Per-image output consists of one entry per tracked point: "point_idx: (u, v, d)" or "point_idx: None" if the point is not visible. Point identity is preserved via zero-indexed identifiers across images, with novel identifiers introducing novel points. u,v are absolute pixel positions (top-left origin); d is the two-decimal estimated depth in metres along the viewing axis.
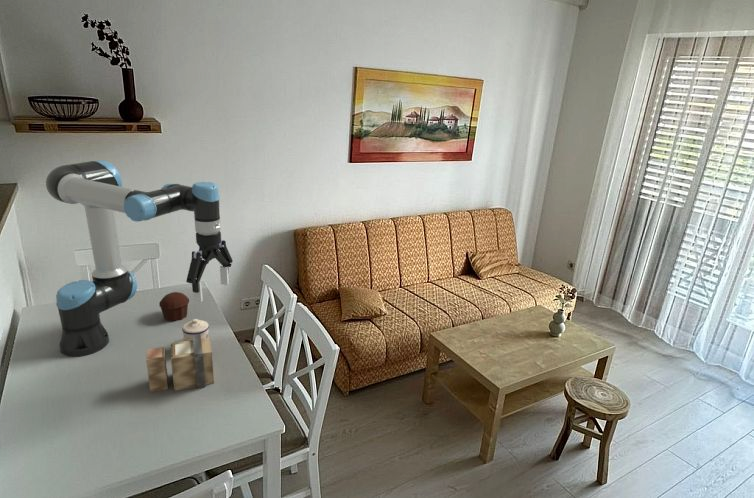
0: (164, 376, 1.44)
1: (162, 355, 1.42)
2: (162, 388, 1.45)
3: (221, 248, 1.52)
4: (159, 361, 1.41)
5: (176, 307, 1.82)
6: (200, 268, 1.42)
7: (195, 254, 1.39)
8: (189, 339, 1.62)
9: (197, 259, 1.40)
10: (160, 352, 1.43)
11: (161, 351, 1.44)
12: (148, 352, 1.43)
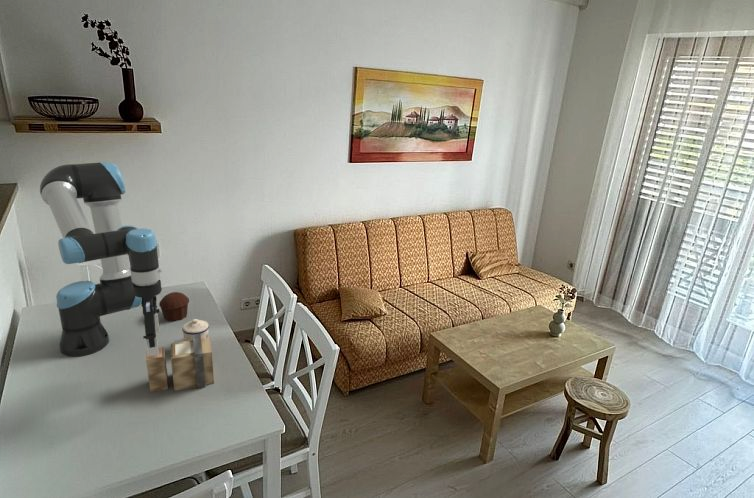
0: (164, 376, 1.44)
1: (162, 355, 1.42)
2: (162, 388, 1.45)
3: None
4: (159, 361, 1.41)
5: (176, 307, 1.82)
6: None
7: (148, 307, 1.30)
8: (189, 339, 1.62)
9: (151, 311, 1.31)
10: (160, 352, 1.43)
11: (161, 351, 1.44)
12: None
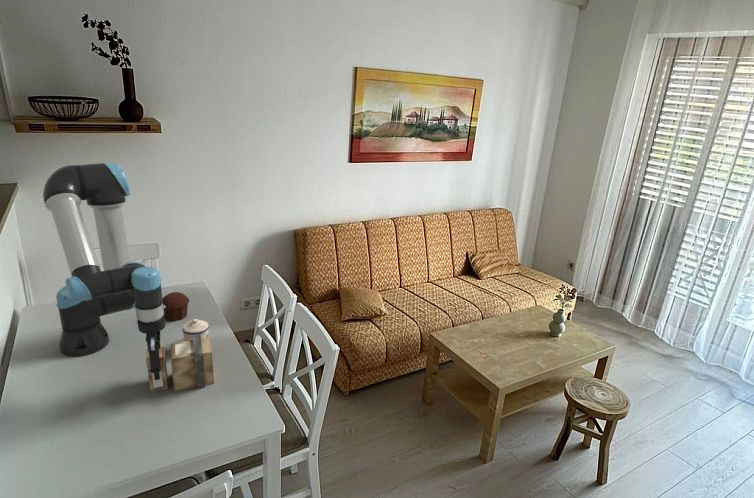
0: (164, 376, 1.44)
1: (162, 355, 1.42)
2: (162, 388, 1.45)
3: None
4: None
5: (176, 307, 1.82)
6: None
7: (153, 347, 1.35)
8: (189, 339, 1.62)
9: (156, 350, 1.36)
10: (160, 352, 1.43)
11: (161, 351, 1.44)
12: (148, 352, 1.43)
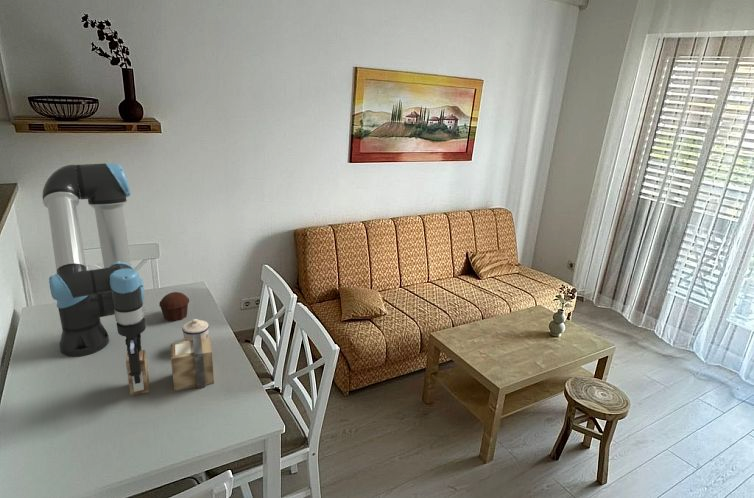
0: (145, 379, 1.41)
1: (142, 358, 1.40)
2: (143, 392, 1.43)
3: None
4: None
5: (176, 307, 1.82)
6: None
7: (132, 350, 1.33)
8: (189, 339, 1.62)
9: (136, 353, 1.34)
10: (141, 355, 1.41)
11: (142, 354, 1.42)
12: None
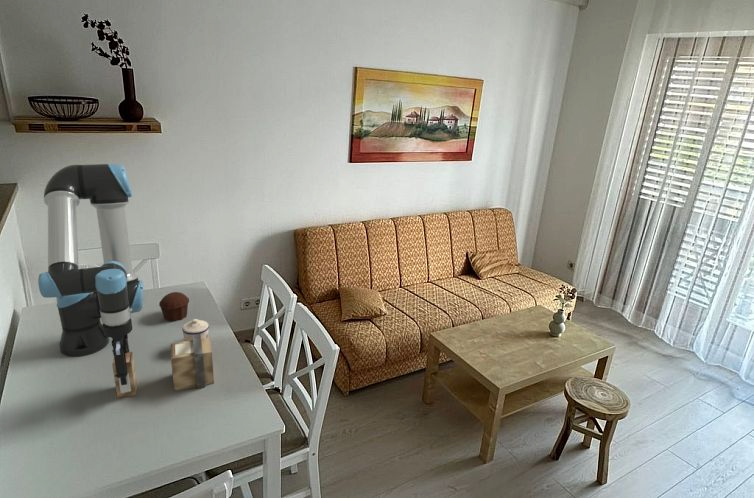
0: (132, 382, 1.40)
1: (129, 360, 1.39)
2: (130, 394, 1.41)
3: None
4: None
5: (176, 307, 1.82)
6: None
7: (118, 352, 1.31)
8: (189, 339, 1.62)
9: (122, 355, 1.33)
10: (127, 357, 1.40)
11: (129, 356, 1.40)
12: None
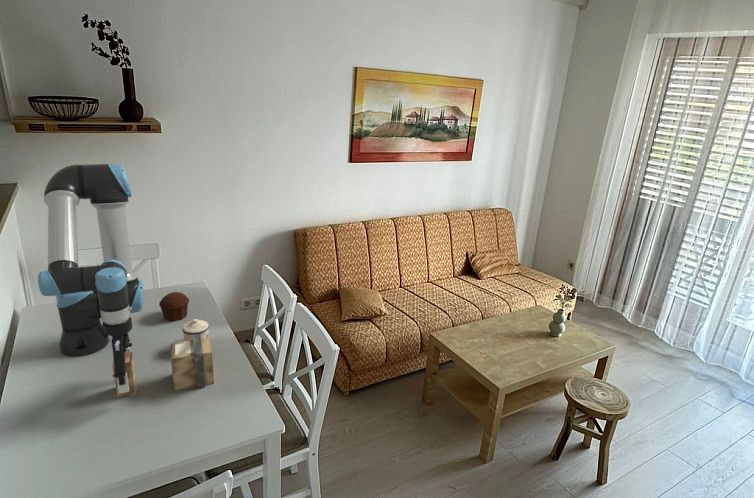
0: (132, 382, 1.40)
1: (129, 360, 1.39)
2: (130, 394, 1.41)
3: None
4: (126, 366, 1.38)
5: (176, 307, 1.82)
6: None
7: (117, 346, 1.31)
8: (189, 339, 1.62)
9: (121, 350, 1.32)
10: (127, 357, 1.40)
11: (129, 356, 1.40)
12: None
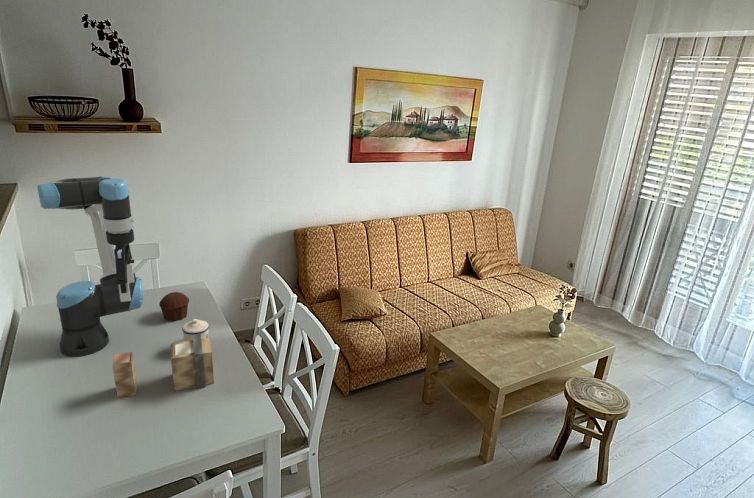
0: (132, 382, 1.40)
1: (129, 360, 1.39)
2: (130, 394, 1.41)
3: None
4: (126, 366, 1.38)
5: (176, 307, 1.82)
6: None
7: (119, 253, 1.36)
8: (189, 339, 1.62)
9: (123, 258, 1.37)
10: (127, 357, 1.40)
11: (129, 356, 1.40)
12: (115, 357, 1.39)
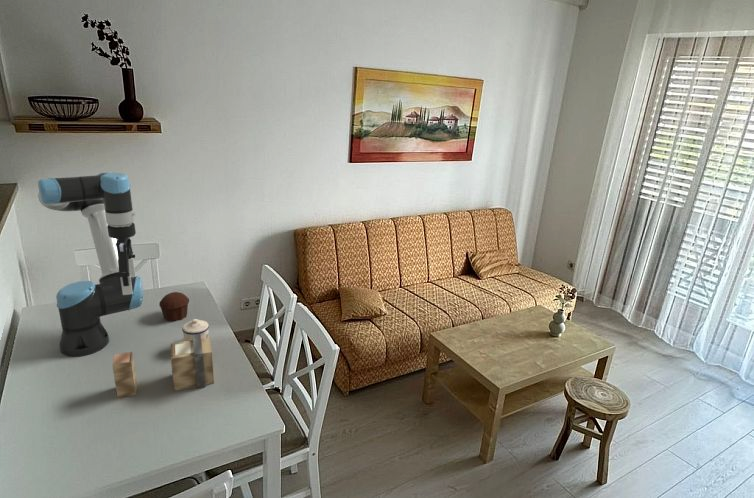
0: (132, 382, 1.40)
1: (129, 360, 1.39)
2: (130, 394, 1.41)
3: None
4: (126, 366, 1.38)
5: (176, 307, 1.82)
6: None
7: (121, 247, 1.38)
8: (189, 339, 1.62)
9: (125, 251, 1.39)
10: (127, 357, 1.40)
11: (129, 356, 1.40)
12: (115, 357, 1.39)
